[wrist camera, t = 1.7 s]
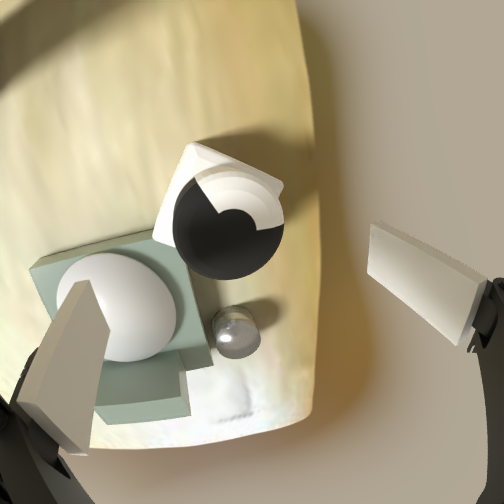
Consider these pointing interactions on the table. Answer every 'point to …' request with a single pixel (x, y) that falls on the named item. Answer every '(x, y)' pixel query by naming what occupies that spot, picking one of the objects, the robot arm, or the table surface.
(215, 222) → the container
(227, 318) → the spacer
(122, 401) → the scale
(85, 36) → the table surface
